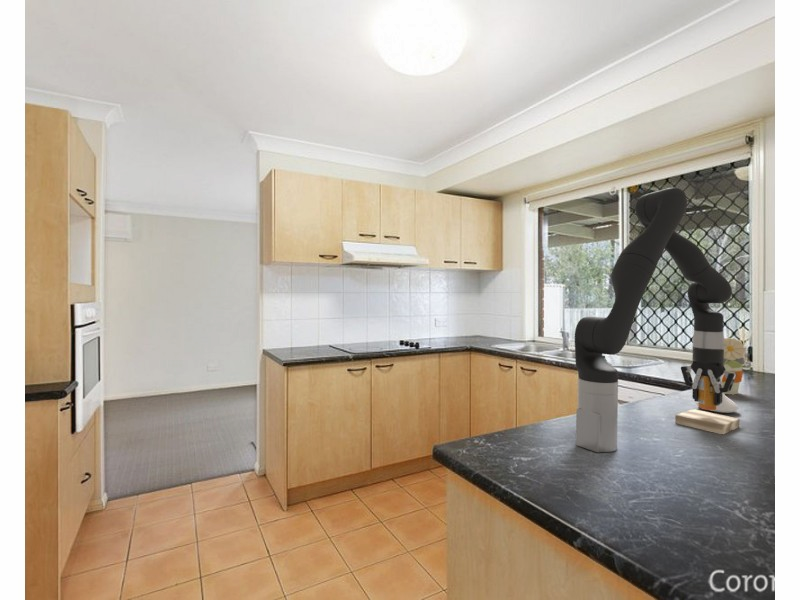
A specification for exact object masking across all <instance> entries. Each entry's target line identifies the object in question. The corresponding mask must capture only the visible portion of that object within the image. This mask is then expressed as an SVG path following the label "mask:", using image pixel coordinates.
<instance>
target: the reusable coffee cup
mask: <svg viewBox="0 0 800 600" xmlns="http://www.w3.org/2000/svg"><path fill="white" fill-rule="evenodd" d="M726 361H727V359H725V358H724V363H725V362H726ZM729 361H737V362H738V363H740V364H741V365H742V366H743V367H744V365H745V359H744V356H743V358H740V359H736V360H728V361H727V362H729ZM724 367H725V369H726V370H727V371H730V372H735V373H736V374H737V376H736V378H735V381H734V383H733V386H732V388H731V391H728V392H723V394H724V395H725V394H732V395H731V396H735V395H734V394H737V395H738V394H739V389H740V384H741V382H742V379H743V375H744V374H743V373H744V370H743V367H740V368H731V367H730V366H729V365H728V364H727V363H726V364H725V365H724ZM726 379H727V378H725V374H724V376H723V378H722V387H724V384H725V382H726Z"/></svg>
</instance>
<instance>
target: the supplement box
mask: <svg viewBox="0 0 800 600" xmlns="http://www.w3.org/2000/svg"><path fill="white" fill-rule="evenodd" d="M714 393H716V392H715V389H714V386H713V385H712V382H711V381H709V377H708V376H701V379H700V382H699V384H698V397H699V406H698V408H699V409H700V410H701V409H702V410H703V411H710V410H716V405H714Z"/></svg>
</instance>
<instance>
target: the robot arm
mask: <svg viewBox="0 0 800 600" xmlns="http://www.w3.org/2000/svg"><path fill="white" fill-rule="evenodd" d="M687 198H688V197H687V194H686V191H684V190H683V189H681V188H679V187H668V188H663V189H660V190H657V191H653V192H650V193H646V194H644V195H641V196H640V197H638V199H637V200H636V202H635V206H634V207H635V208H634V210H635V214H636V217H637V219H638V220H639V222H640V223H641V225H642V226H643V227H644V228H645V229H644V230H643V231H642V232H641V233H640V234H639V235H638V236H636V237H635V238H634V239H632V240H631V241H630V243H628V244H627V246H626V247H624V248H623V249H622V251H621V252H620V254H619V256H618V258H617V260H616V261H615V264H614V266H613V268H612V271H611V273H610V274H611V277H610V279H611V284H612V288H613V292H614V303H613V305H612V307H611V310H610V311H609V313H608V315H607V316H606V317H604V316H603V317H602V316H601V317H600V316H584V317H582V318H581V319H579V320H578V321H577V324H576V327H575V330H574V355H575V356H574V357H575V358H574V359H575V361H574V362H575V367H576V370H577V372H578V379H577V380H578V381H577V382H578V387H577V393H578V394H577V408H576V409H575V411H576V412H575V414H576V417H575V418H576V419H575V425H576V426H575V445H576V446H578V447H581V448H584V449H586V450H589V451H592V452H595V453H611V452H612V453H613V452H615V451H618V424H619V423H618V419H619V417H618V416H619V415H618V413H619V412H618V409H619V408H618V407H619V371H618V369H616V368H615V367H614V366H613V365H609V364H608V363H607V362H608V361H607V362H606V361H605V360H604V359H603V356H604V355H610V356H611V355H612V356H613V355H616V354H619V353H620V352H621V351H622V349H624V347H625V345H626V343H627V341H628V338H629V335H630V332H631V329H632V327H633V323H634V319H635V318H636V313H637V311H638V308H639V306H640V303H641V301H642V298H643V296H644V293H645V292H646V289H647V287H648V286H649V283H650V281H651V280H652V277H653V275H654V273H655V271H656V269H657V266H658V263H659V262H660V259H661V256H662V255H663V253H664V250H665V251H666V252H667V253H668V254H669V256H670V257H671V259H673V262H674V263H675V264H676V266H677V268H678V269H679V271H680V272H681V274H682V276H683V278H685V280H687V281H688V282H691V283H690V284H689V286H688V288H687V298H688V301H689V304H690V308H691V311H692V314H693V335H692V358H691V359H692V362H691V364H690V365H682V366H681V367H680V369H681V370H680V371H681V373H682V377H683V381H684V385H686V386H688V387H690V388H691V389H692V397H691V398H692V399H693V400H694V402H695V403H696V402H699V397H698V384H699V382H700V379H701V376H708V377H709V381H711V382H712V385H713V386H714V389H715V392H716V393H714V405H716V406H718V405H720V404H721V403H722V394H723V392H728V391H731V388H732V386H733V383H734V381H735V378H736V376H737V374H736V373H735V372H730V371H727V370H726V369H725V367H724V346H725V344H724V338H725V336H724V315H723V314H722V312H719V311H715V310H712V309H711V308H710V306H709V304H724V303H726V302H727V301H730V299H731V297H732V292H733V291H732V286H731V283H729V281H728V280H727V279H726V278H725V277H724V276H723V275H722V274H721V273H720V272H719V271H718V270H716V269H715V268H714V267H713V266H711V264H710V262H709V260H708V259H707V257H706V256H705V253H704V252H703V251H702V249H701V248H700V247H699V246H698V245H697V244H695V243H694V242H693V241H691V240H690V239H688V238H686V237H685V236H683V235H682V234H680V233H678V232H677V231H676V230H677V227H678V226H679V225H680V223H681V221H682V220H683V218H684V216H685V214H686V212H687V211H686V210H687V206H688V199H687ZM692 371H693V373H694V374H695V376H694V379H693V378H692V375H691V374H692V373H691V372H692ZM723 374H725V378H727V379H726V382H725V384H724V387H722V382H721V379H720V377H721V376H722V375H723Z"/></svg>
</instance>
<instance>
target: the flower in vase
mask: <svg viewBox="0 0 800 600" xmlns="http://www.w3.org/2000/svg"><path fill="white" fill-rule="evenodd" d="M724 344H725V346H724V358H725V359H727V361H728V360H736V359H740V358H743V357H744V356H745V354H746V352H747V347H745V345H744V344H743V342H742V341H741V340H739V339H736V338H731V337H727V338H725V337H724ZM727 361H726V362H725V363H724V365H725V364H726V363H727V364H728V365H729V366H730V367H731V368H740V367H742V368H743V367H744V365H743V366H742V365H741V364H740V363H738V362H737V361H729V362H727ZM723 376H724V374H723V375H722V376H721V377H720V379H721V382H722V378H723ZM695 404H696V405H697V407H699V402H696V401H695ZM709 411H710V412H714V413H723V414H724V413H727V414H728V413H731V414H732V413H735V412H736V413H737V411H739V406H738V405H737V403H736V402H734V401H733V400H732V399H731V398H729V397H728V395H727V396H726V395H725V394H722V403H721V404H720V405H718V406H716V410H709Z"/></svg>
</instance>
